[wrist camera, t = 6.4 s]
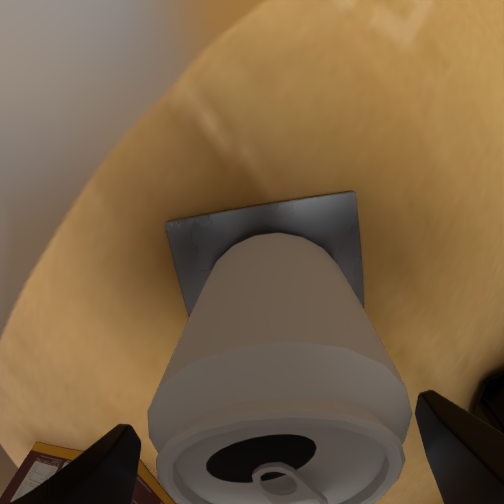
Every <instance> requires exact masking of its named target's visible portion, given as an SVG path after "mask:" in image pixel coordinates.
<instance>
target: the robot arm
mask: <svg viewBox="0 0 504 504" xmlns="http://www.w3.org/2000/svg"><path fill="white" fill-rule="evenodd" d="M415 416H416V420H417V424H418V427H419V431H420V434H421V438H422V442H423V446H424V449H425V453H426V456H427V459H428V462H429V465H430V467H431V470H432V472H433V475H434V477H435V480H436V483H437V485H438V488H439V491H440V493H441V496H442V499H443V501H444V504H504V371H503V372H501V373H499V374H496V375H494V376H492V377H489V378H487V379H486V380H485V381H484V382H483V385H482V388H481V391H480V394H479V397H478V400H477V403H476V406H475V409H474V412H473V414H470V413H469V412H467V411H466V410H464V409H462V408H461V407H459V406H457V405H456V404H454V403H453V402H451V401H449V400H448V399H446V398H445V397H443V396H441V395H440V394H438V393H437V392H435V391H433V390H428V391H424V392H421V393H420V394H419V395H418V400H417V405H416V410H415ZM140 451H141V441H140V439H139V437H138V435H137V434H136V432H135V430H134V429H133V427H132V426H131V425H129V424H118V425H117V426H116V427H114V428H113V429H112V430H111V431H109V432H108V433H107V434H106V435H104V436H103V437H102V438H101V439H99V440H98V441H97V442H95V443H94V444H93V445H92V446H90V447H89V448H88V449H86V450H85V451H84V452H83V453H81V454H80V455H79V456H77V457H76V458H75V459H74V460H72V461H71V462H70V463H68V464H67V465H66V466H64V467H63V468H62V469H60V470H59V471H58V472H56V473H55V474H54V475H52V476H51V477H50V478H49V479H47V480H45V481H44V482H43V483H41V484H40V485H38V486H37V487H36V488H34V489H33V490H31V491H30V492H28V493H26V494H25V495H23V496H21V497H20V498H18V499H16V500H14V501H12V502H11V503H9V504H131V502H132V498H133V494H134V490H135V486H136V480H137V474H138V466H139V459H140Z"/></svg>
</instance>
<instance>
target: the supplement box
mask: <svg viewBox="0 0 504 504" xmlns="http://www.w3.org/2000/svg"><path fill="white" fill-rule="evenodd" d="M81 453H83V451H78V450H72V449H67V448H62V447H57V446H53V445H48V444H44V443H40V442H36V443H35V445H34V446H33V448H32V449H31V451H30V452H29V454H28V455H27V457H26V458H25V460H24V461H23V463H22V464H21V466H20V468H19V469H18V471H17V472H16V474H15V476H14V477H13V479H12V480H11V482H10V483H9V485H8V487H7V488H6V490H5V491H4V493H3V494H2V496H1V498H0V504H9V503H11V502H12V501H14V500H16V499H18V498H20V497H21V496H23V495H25V494H26V493H28V492H30V491H31V490H33V489H34V488H36V487H37V486H38V485H40V484H41V483H43V482H44V481H45V480H47V479H49V478H50V477H51V476H52V475H54V474H55V473H56V472H58V471H59V470H60V469H62V468H63V467H64V466H66V465H67V464H68V463H70V462H71V461H72V460H74V459H75V458H76V457H77V456H79V455H80V454H81ZM131 504H175V503H174V502H173V500H172V499H171V498H170V497H169V496H168V494H167V493H166V492H165V491H164V490H163V488H162V487H161V486H160V485H159V484H158V482H157V481H156V480H155V479H154V477H153V476H152V475H151V474H150V472H149V471H148V470H147V468H146V467H145V466H144V464H143V463H142V462H141V460H140V459H139V466H138V474H137V480H136V486H135V490H134V494H133V498H132V502H131Z"/></svg>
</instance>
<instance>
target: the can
mask: <svg viewBox="0 0 504 504" xmlns="http://www.w3.org/2000/svg"><path fill="white" fill-rule="evenodd" d="M411 416H412V411H411V407H410V403H409V398H408V394H407V390H406V387H405V385H404V383H403V381H402V379H401V377H400V375H399V373H398V371H397V369H396V368H395V366H394V364H393V362H392V360H391V358H390V356H389V354H388V352H387V351H386V349H385V347H384V345H383V343H382V341H381V339H380V338H379V336H378V334H377V332H376V330H375V328H374V327H373V325H372V323H371V321H370V319H369V318H368V316H367V314H366V312H365V311H364V309H363V307H362V305H361V304H360V302H359V300H358V298H357V297H356V295H355V293H354V291H353V290H352V288H351V286H350V285H349V283H348V281H347V279H346V278H345V276H344V274H343V273H342V271H341V269H340V268H339V266H338V264H337V263H336V262H335V261H334V260H333V259H332V258H331V257H330V255H329V254H328V253H327V252H326V251H325V250H324V249H323V248H322V247H320V246H318V245H316V244H314V243H313V242H311V241H309V240H307V239H305V238H303V237H300V236H294V235H289V234H284V233H272V234H264V235H256V236H253V237H251V238H249V239H246V240H244V241H242V242H240V243H238V244H236V245H233V246H232V247H231V248H230V249H229V250H228V251H227V252H226V253H225V254H224V255H223V256H222V257H221V258H219V259H218V260H217V261H216V263H215V265H214V267H213V269H212V271H211V273H210V275H209V277H208V279H207V281H206V283H205V285H204V287H203V289H202V292H201V294H200V296H199V298H198V300H197V302H196V304H195V307H194V309H193V311H192V313H191V315H190V317H189V320H188V322H187V324H186V326H185V328H184V331H183V333H182V335H181V337H180V339H179V342H178V344H177V346H176V348H175V350H174V353H173V355H172V357H171V359H170V362H169V364H168V366H167V368H166V371H165V373H164V375H163V377H162V380H161V382H160V384H159V386H158V389H157V391H156V393H155V395H154V398H153V400H152V402H151V405H150V407H149V409H148V428H149V438H150V440H151V441H152V443H153V445H154V447H155V449H156V450H157V452H158V456H157V458H156V465H157V478H158V480H159V481H160V483H161V484H162V485H163V487H164V488H165V490H166V491H167V493H168V494H169V495H170V497H171V498H173V499H174V500H175V501H177V502H178V503H179V504H373V503H374V502H376V501H377V500H379V499H380V498H381V497H382V496H383V495H384V494H385V493H386V492H387V491H388V490H389V489H390V488H391V487H392V485H393V484H394V483H395V482H396V481H397V480H398V478H399V476H400V473H401V470H402V468H403V465H404V462H405V456H404V452H403V448H402V444H403V442H404V440H405V438H406V435H407V431H408V428H409V424H410V420H411Z"/></svg>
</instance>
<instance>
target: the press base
mask: <svg viewBox="0 0 504 504" xmlns="http://www.w3.org/2000/svg"><path fill="white" fill-rule="evenodd" d="M165 227H166V232H167V236H168V240H169V244H170V248H171V252H172V256H173V260H174V264H175V268H176V272H177V276H178V279H179V283H180V287H181V290H182V294H183V298H184V301H185V305H186V308H187V312H188V315H189V317H190V315H191V313H192V311H193V309H194V307H195V304H196V302H197V300H198V298H199V296H200V294H201V292H202V289H203V287H204V285H205V283H206V281H207V279H208V277H209V275H210V273H211V271H212V269H213V267H214V265H215V263H216V261H217V260H218V259H219V258H221V257H222V256H223V255H224V254H225V253H226V252H227V251H228V250H229V249H230V248H231V247H232V246H233V245H236V244H238V243H240V242H242V241H244V240H246V239H249V238H251V237H253V236H256V235H264V234H272V233H284V234H289V235H294V236H300V237H303V238H305V239H307V240H309V241H311V242H313V243H314V244H316V245H318V246H320V247H322V248H323V249H324V250H325V251H326V252H327V253H328V254H329V255H330V257H331V258H332V259H333V260H334V261H335V262H336V263H337V264H338V266H339V268H340V269H341V271H342V273H343V274H344V276H345V278H346V279H347V281H348V283H349V285H350V286H351V288H352V290H353V291H354V293H355V295H356V297H357V298H358V300H359V302H360V304H361V305H362V307H363V309H364V293H363V273H362V257H361V244H360V232H359V221H358V211H357V202H356V193H355V192H354V191H346V192H339V193H331V194H324V195H317V196H311V197H304V198H297V199H291V200H284V201H278V202H272V203H265V204H259V205H253V206H247V207H241V208H236V209H230V210H224V211H219V212H213V213H208V214H202V215H197V216H191V217H186V218H181V219H176V220H171V221H167V222H166V223H165Z"/></svg>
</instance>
